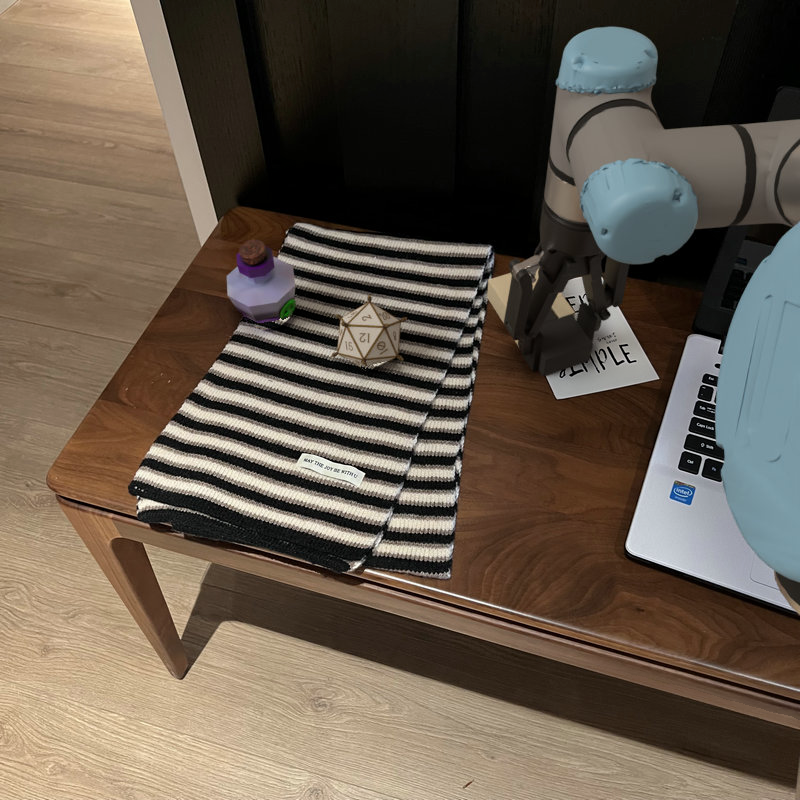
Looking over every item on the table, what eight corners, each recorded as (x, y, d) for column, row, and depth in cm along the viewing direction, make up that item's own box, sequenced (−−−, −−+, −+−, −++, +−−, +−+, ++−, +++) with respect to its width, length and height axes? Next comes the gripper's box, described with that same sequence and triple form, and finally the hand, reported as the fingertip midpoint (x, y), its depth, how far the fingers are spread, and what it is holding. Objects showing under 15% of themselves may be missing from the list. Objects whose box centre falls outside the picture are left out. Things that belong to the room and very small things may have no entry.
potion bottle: (293, 350, 94) (276, 279, 85) (226, 340, 96) (202, 269, 86) (313, 299, 99) (299, 227, 90) (249, 291, 101) (229, 218, 91)
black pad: (588, 366, 91) (593, 343, 88) (542, 382, 90) (545, 360, 87) (557, 322, 95) (561, 299, 92) (513, 337, 94) (515, 314, 91)
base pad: (570, 335, 94) (575, 312, 91) (518, 352, 93) (521, 330, 89) (536, 286, 99) (539, 263, 96) (486, 302, 98) (488, 279, 94)
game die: (369, 366, 97) (370, 286, 94) (420, 379, 92) (423, 294, 89) (315, 378, 91) (315, 293, 88) (367, 393, 85) (368, 302, 82)
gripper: (650, 152, 77) (610, 312, 95) (474, 204, 73) (468, 359, 92) (693, 197, 73) (642, 355, 91) (509, 254, 69) (495, 406, 88)
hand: (555, 357), depth 92 cm, fingers closed on black pad, 6 cm apart
